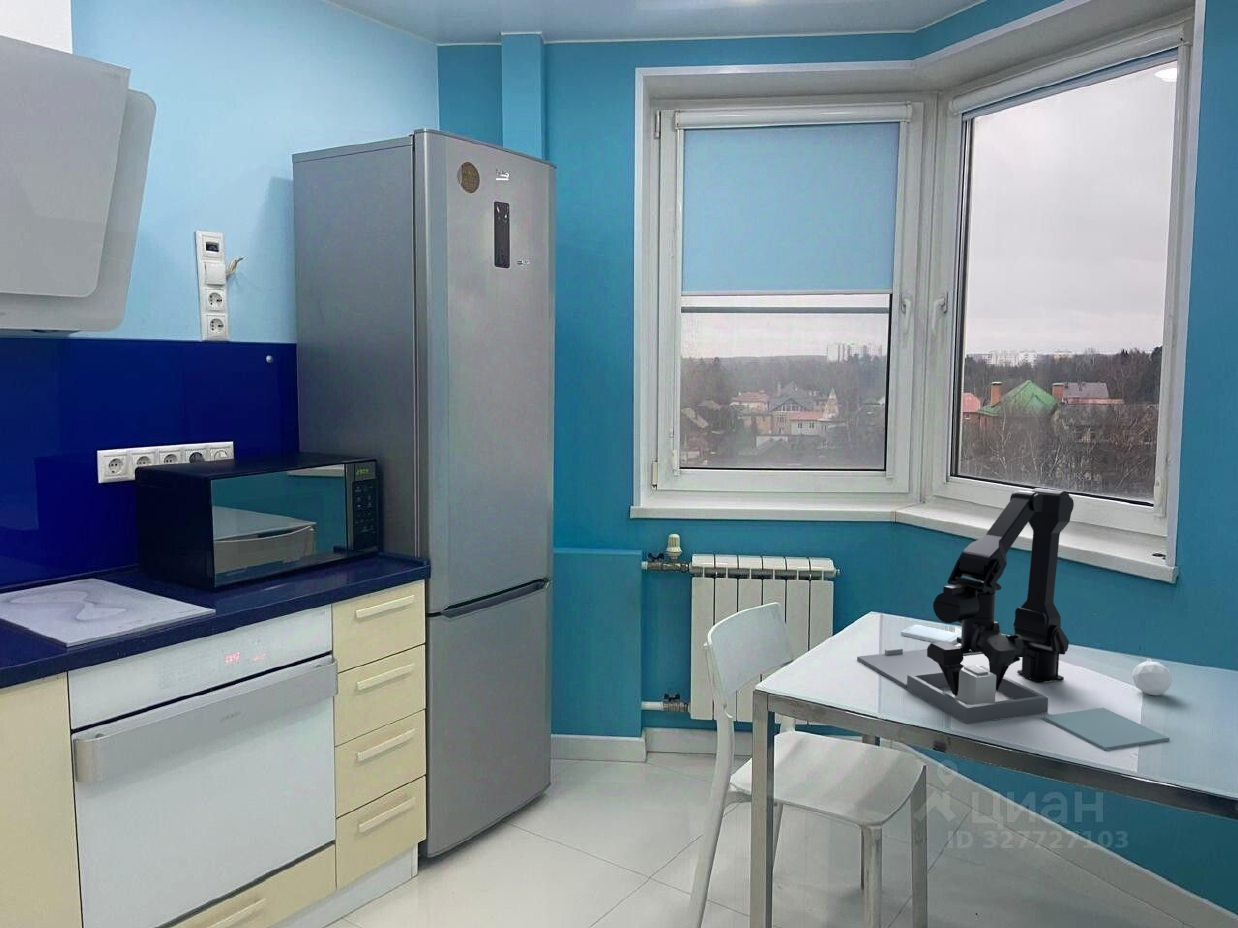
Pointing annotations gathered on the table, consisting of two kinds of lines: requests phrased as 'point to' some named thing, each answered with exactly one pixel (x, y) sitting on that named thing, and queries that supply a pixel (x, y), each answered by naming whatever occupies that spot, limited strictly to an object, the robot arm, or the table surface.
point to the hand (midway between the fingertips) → (974, 692)
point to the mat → (1105, 728)
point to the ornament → (1152, 678)
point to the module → (976, 685)
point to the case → (927, 676)
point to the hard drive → (930, 634)
